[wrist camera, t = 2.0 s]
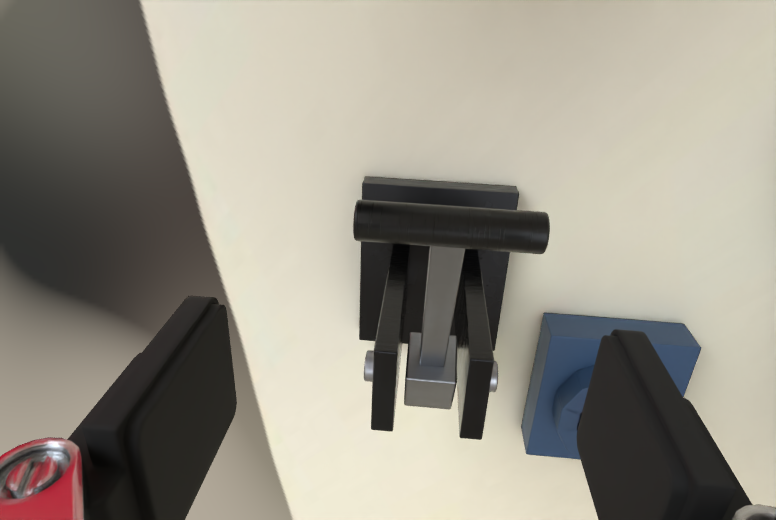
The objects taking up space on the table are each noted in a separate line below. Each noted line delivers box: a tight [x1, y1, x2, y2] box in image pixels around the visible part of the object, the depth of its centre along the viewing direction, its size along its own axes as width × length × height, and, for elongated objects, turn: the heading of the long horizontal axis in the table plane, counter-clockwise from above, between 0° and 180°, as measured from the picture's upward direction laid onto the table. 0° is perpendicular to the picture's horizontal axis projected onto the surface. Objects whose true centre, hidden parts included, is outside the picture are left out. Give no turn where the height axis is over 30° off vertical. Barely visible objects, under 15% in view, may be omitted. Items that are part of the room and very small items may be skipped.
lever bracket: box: [359, 177, 519, 440], centre depth 29 cm, size 11×9×13 cm
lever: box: [353, 200, 550, 409], centre depth 22 cm, size 12×6×2 cm, turn 179°
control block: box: [521, 313, 701, 459], centre depth 36 cm, size 10×9×4 cm
